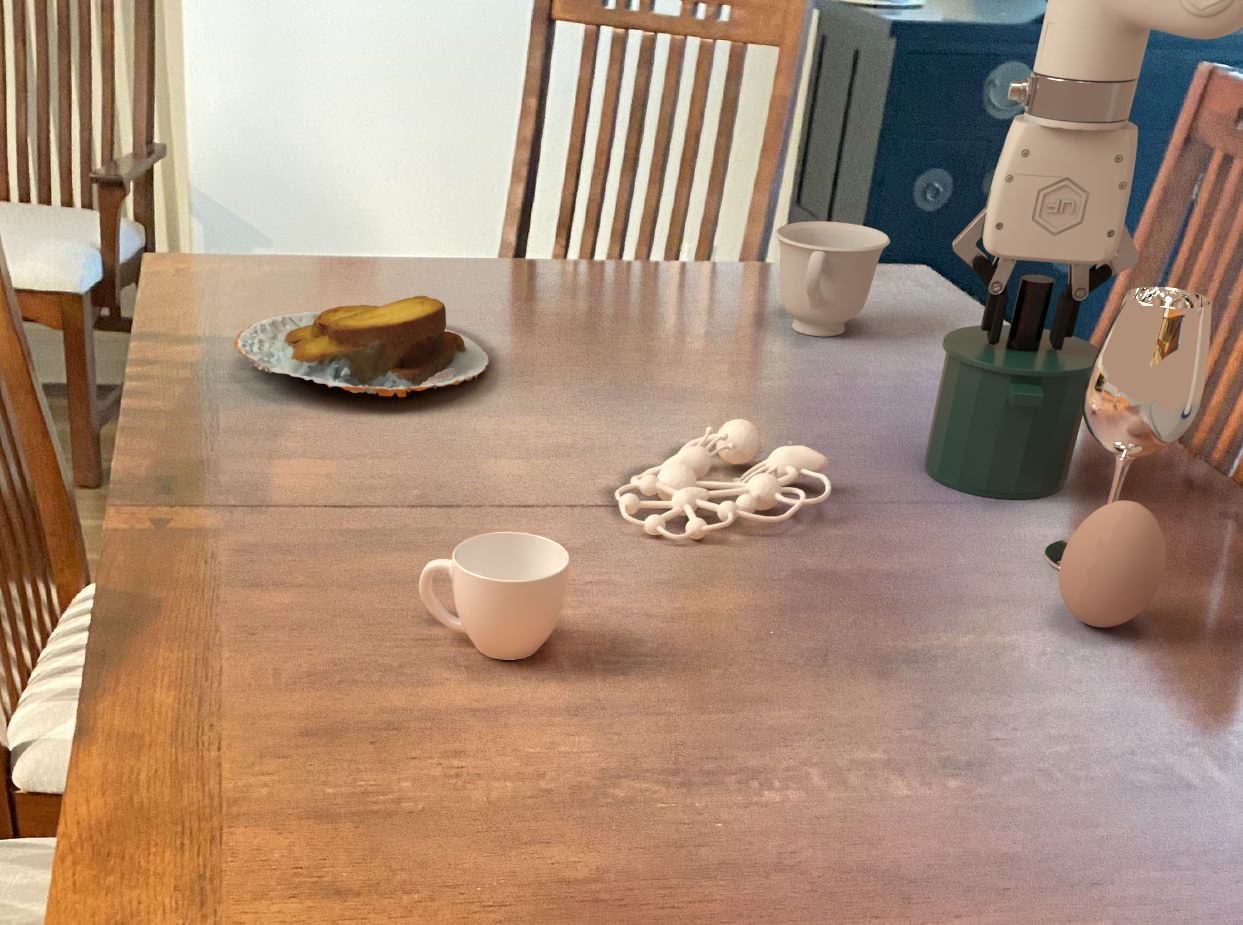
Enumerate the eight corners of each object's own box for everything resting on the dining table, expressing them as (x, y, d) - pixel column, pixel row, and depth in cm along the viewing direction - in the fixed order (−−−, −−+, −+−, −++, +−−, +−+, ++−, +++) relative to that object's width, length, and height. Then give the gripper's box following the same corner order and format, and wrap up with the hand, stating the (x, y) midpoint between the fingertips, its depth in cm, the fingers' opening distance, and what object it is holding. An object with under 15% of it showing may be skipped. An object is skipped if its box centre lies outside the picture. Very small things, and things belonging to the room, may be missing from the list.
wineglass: (1020, 550, 117) (1085, 288, 106) (1097, 535, 119) (1168, 277, 108) (1092, 591, 111) (1169, 318, 100) (1172, 574, 114) (1256, 306, 102)
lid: (1089, 344, 129) (1109, 264, 125) (1109, 390, 118) (1132, 306, 115) (937, 332, 131) (953, 254, 127) (944, 377, 121) (961, 293, 117)
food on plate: (278, 326, 163) (276, 264, 159) (505, 343, 159) (508, 280, 156) (204, 402, 142) (199, 332, 138) (463, 424, 138) (465, 353, 135)
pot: (1052, 445, 136) (1082, 329, 130) (1075, 518, 122) (1108, 391, 116) (920, 433, 138) (943, 318, 132) (928, 503, 124) (954, 378, 119)
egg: (1165, 630, 106) (1203, 509, 101) (1105, 654, 103) (1141, 529, 98) (1086, 595, 110) (1119, 477, 105) (1026, 616, 107) (1057, 496, 102)
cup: (555, 680, 99) (561, 586, 95) (407, 663, 100) (407, 571, 96) (570, 626, 105) (576, 537, 101) (430, 612, 106) (431, 523, 103)
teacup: (745, 344, 160) (757, 247, 154) (775, 308, 172) (787, 216, 166) (859, 359, 156) (876, 260, 151) (882, 321, 168) (898, 228, 162)
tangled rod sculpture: (706, 580, 114) (715, 531, 112) (570, 508, 122) (575, 462, 120) (856, 508, 125) (868, 462, 122) (722, 446, 133) (729, 402, 130)
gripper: (966, 103, 112) (919, 347, 122) (1206, 116, 109) (1138, 365, 119) (961, 87, 118) (916, 321, 128) (1188, 99, 115) (1124, 338, 125)
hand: (1024, 340), depth 124 cm, fingers open, 4 cm apart
